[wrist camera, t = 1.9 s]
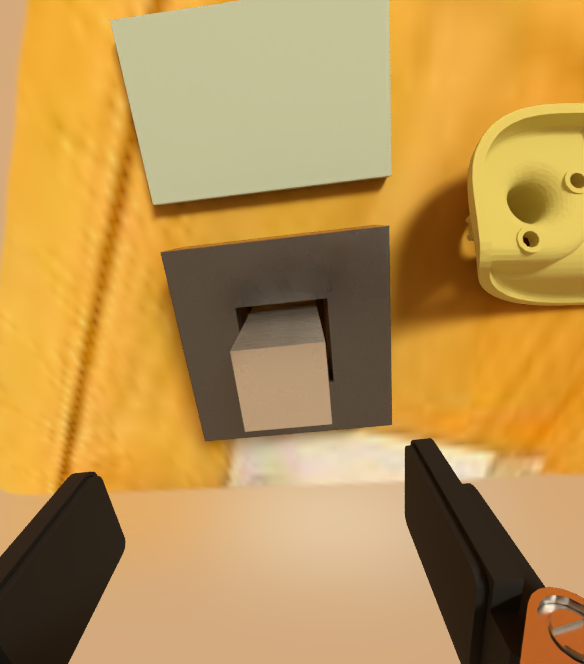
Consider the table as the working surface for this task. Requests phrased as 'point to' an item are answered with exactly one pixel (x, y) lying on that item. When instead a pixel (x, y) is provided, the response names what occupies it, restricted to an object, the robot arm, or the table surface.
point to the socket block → (280, 287)
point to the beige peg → (282, 367)
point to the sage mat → (258, 95)
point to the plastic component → (530, 206)
